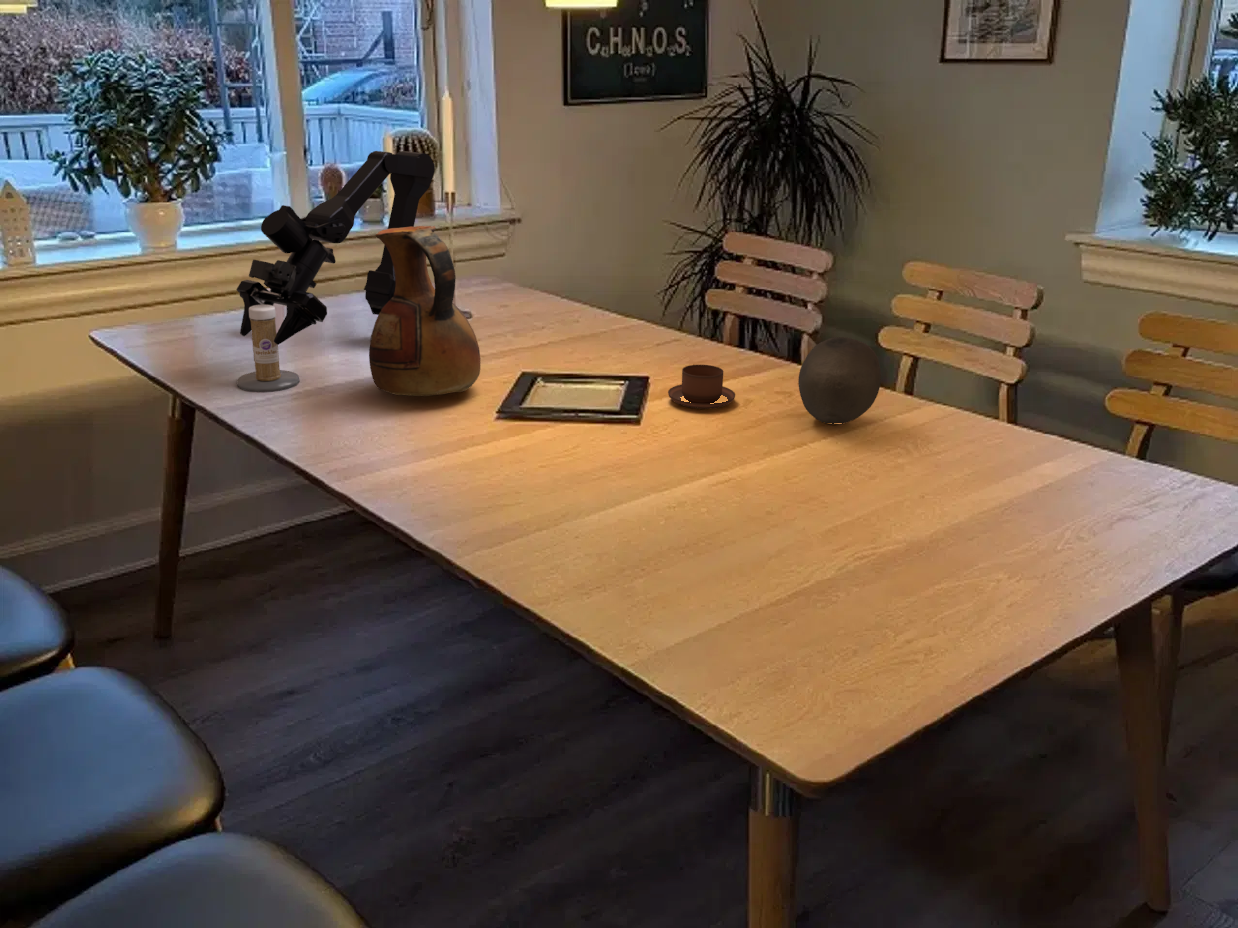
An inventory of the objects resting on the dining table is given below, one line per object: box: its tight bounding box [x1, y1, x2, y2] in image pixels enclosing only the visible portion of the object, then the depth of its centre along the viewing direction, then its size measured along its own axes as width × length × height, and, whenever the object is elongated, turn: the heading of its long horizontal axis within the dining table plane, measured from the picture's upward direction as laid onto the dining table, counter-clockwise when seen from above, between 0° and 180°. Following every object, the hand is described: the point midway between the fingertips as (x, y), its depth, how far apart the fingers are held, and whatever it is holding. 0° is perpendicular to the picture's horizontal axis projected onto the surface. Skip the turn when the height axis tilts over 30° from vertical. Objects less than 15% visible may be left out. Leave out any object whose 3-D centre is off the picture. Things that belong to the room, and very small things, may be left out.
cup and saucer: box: [667, 364, 736, 410], centre depth 199 cm, size 12×12×6 cm
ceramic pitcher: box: [368, 225, 481, 397], centre depth 196 cm, size 20×20×30 cm
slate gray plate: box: [236, 369, 300, 393], centre depth 205 cm, size 11×11×1 cm
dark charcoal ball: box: [797, 336, 882, 425], centre depth 187 cm, size 14×14×15 cm
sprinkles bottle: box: [249, 305, 281, 381], centre depth 203 cm, size 5×5×13 cm
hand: (258, 339), depth 201 cm, fingers open, 9 cm apart
